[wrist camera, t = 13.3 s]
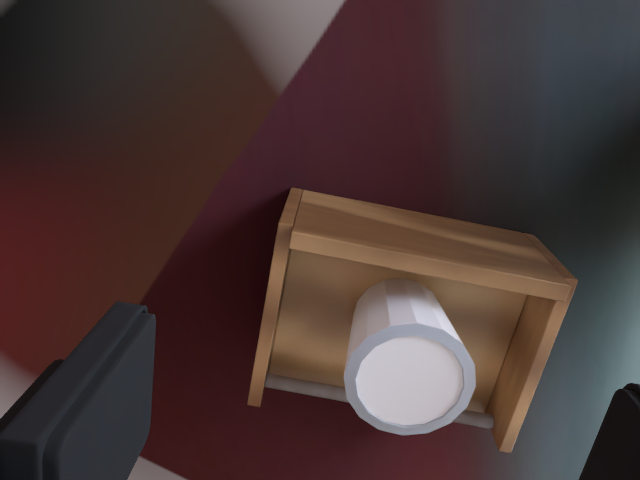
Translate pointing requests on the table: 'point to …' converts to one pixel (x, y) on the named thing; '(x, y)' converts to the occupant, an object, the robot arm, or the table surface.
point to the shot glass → (406, 360)
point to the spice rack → (417, 265)
